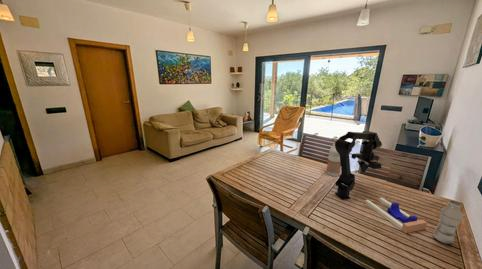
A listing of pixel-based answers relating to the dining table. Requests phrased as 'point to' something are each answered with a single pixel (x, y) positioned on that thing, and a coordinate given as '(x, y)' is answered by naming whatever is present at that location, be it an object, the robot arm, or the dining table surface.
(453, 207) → the plastic bottle
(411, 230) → the guide channel
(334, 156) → the fruit juice
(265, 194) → the dining table surface
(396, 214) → the cable clip
